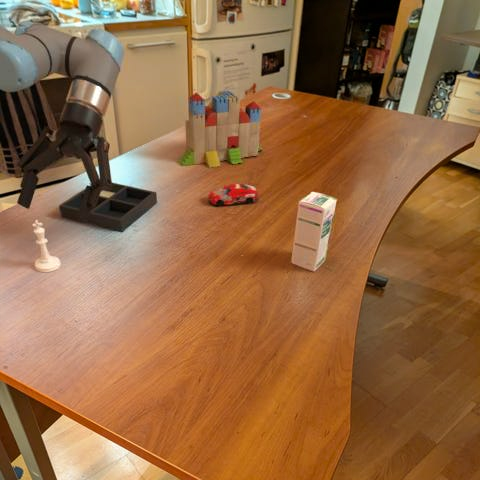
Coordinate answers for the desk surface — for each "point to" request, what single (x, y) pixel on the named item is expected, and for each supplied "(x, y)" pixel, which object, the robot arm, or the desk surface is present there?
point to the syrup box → (313, 230)
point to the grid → (113, 206)
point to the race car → (234, 195)
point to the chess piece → (44, 252)
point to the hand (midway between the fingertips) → (51, 213)
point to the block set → (221, 130)
